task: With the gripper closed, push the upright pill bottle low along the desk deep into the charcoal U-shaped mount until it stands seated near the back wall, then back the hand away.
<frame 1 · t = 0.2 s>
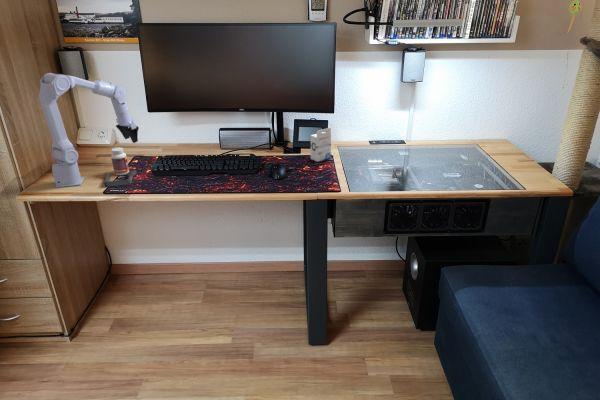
hand: (131, 140, 201), 10 cm above the table, tool pointing down, fingers open, 7 cm apart
ink box: (320, 158, 206), on the table
mount cradle: (119, 181, 184), on the table
pill bottle: (122, 173, 193), on the table
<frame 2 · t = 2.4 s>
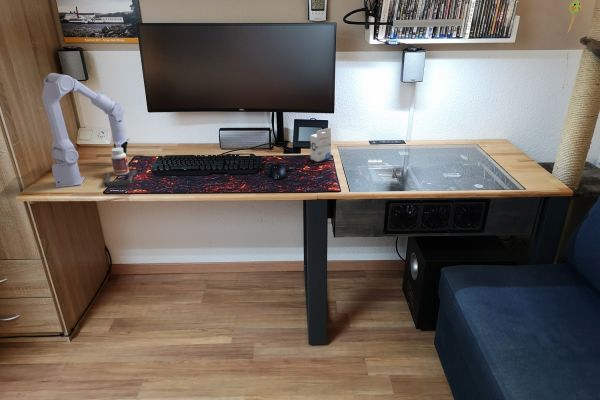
hand: (123, 158, 201), 3 cm above the table, tool pointing down, fingers closed
nothing on the table moved.
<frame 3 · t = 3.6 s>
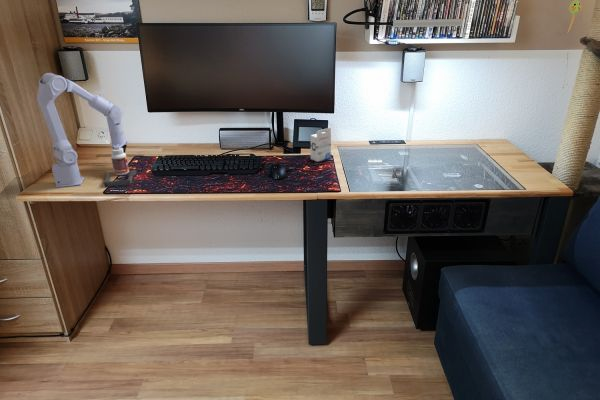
hand: (122, 161, 197), 3 cm above the table, tool pointing down, fingers closed
nothing on the table moved.
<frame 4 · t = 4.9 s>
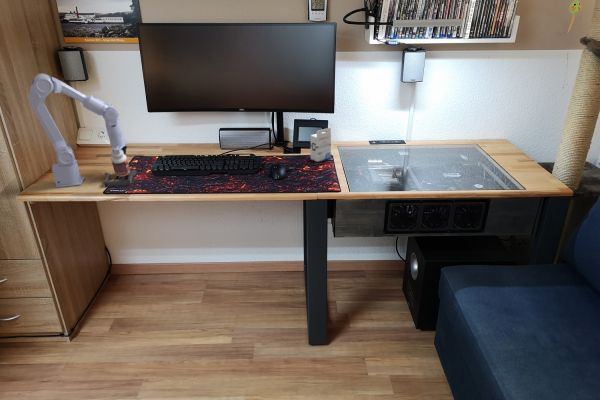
hand: (123, 163, 191), 4 cm above the table, tool pointing down, fingers closed, pressing on pill bottle
pill bottle: (122, 172, 191), point 1 cm above the table, touching gripper
everything else where it was.
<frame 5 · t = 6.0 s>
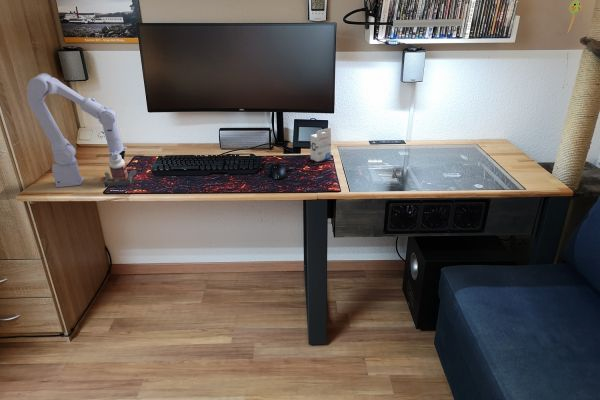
hand: (121, 168, 186), 4 cm above the table, tool pointing down, fingers closed, pressing on pill bottle
pill bottle: (120, 178, 186), point 1 cm above the table, touching gripper
everything else where it was.
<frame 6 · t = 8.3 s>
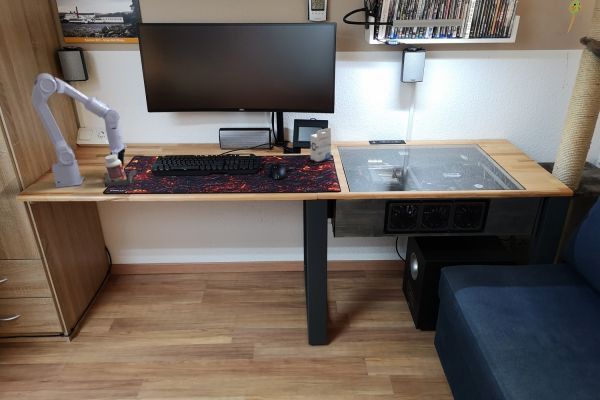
hand: (120, 166, 192), 3 cm above the table, tool pointing down, fingers closed
pill bottle: (119, 181, 184), resting in mount cradle
everything else where it was.
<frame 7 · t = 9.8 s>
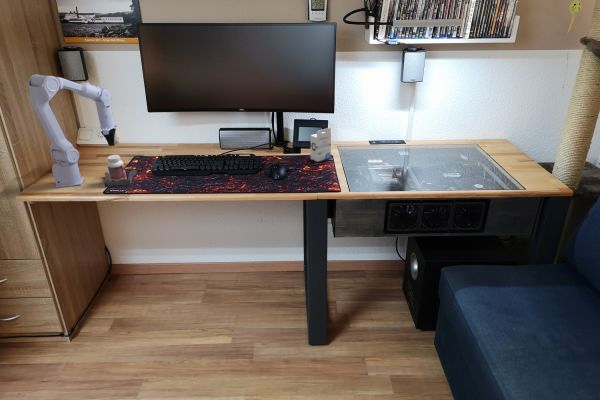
hand: (111, 145, 198), 9 cm above the table, tool pointing down, fingers closed
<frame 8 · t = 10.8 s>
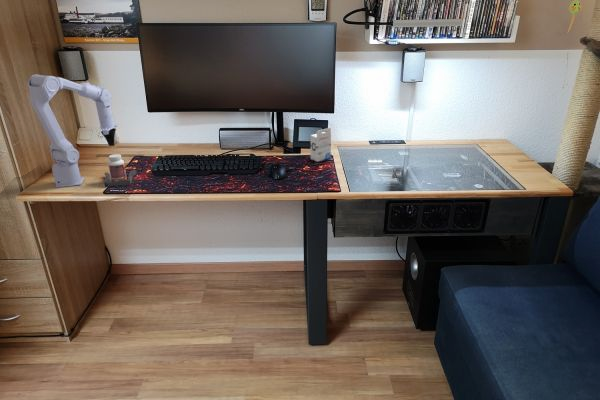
hand: (111, 145, 198), 9 cm above the table, tool pointing down, fingers closed
at the end: pill bottle 0.1 cm off-centre on the mount cradle, point 0.0 cm above the mount cradle's base; pill bottle tilted 3° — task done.
